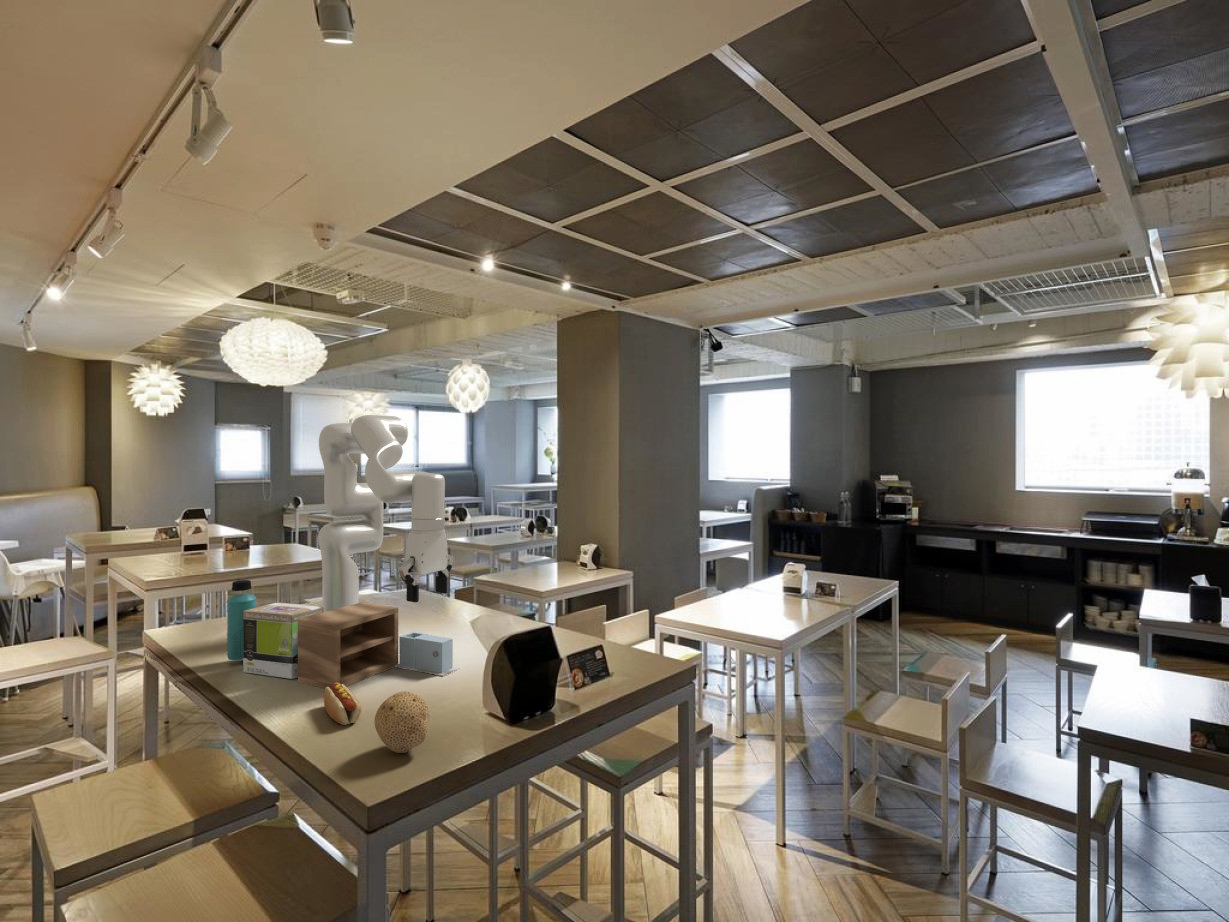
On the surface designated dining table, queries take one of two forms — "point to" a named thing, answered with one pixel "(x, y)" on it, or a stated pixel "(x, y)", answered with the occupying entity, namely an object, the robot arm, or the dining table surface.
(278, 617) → the tea box
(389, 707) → the natural sponge
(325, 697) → the food
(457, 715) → the dining table surface
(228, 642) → the beverage bottle
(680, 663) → the dining table surface
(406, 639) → the blue box with dot
